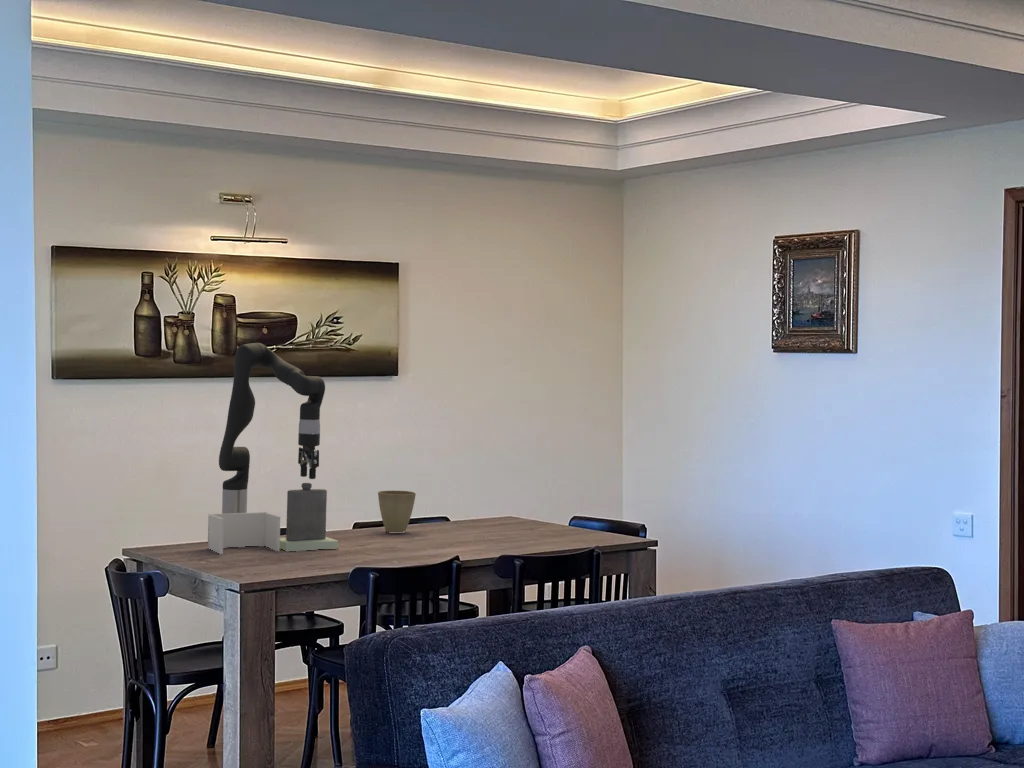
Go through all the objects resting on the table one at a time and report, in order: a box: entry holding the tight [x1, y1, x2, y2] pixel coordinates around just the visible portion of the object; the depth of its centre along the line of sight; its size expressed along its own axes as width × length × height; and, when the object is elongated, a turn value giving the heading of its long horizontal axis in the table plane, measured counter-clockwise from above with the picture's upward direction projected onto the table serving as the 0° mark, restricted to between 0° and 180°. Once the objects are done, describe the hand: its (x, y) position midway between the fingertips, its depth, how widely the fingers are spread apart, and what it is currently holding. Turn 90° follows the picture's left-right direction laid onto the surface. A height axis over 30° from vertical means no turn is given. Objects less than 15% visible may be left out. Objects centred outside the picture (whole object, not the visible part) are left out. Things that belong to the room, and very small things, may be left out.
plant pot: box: [377, 490, 417, 533], centre depth 485 cm, size 15×15×16 cm
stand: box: [280, 536, 339, 552], centre depth 437 cm, size 14×19×3 cm
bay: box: [207, 511, 281, 555], centre depth 428 cm, size 14×21×12 cm
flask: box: [285, 482, 328, 541], centre depth 437 cm, size 15×6×20 cm, turn 127°
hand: (307, 477), depth 437 cm, fingers open, 8 cm apart
